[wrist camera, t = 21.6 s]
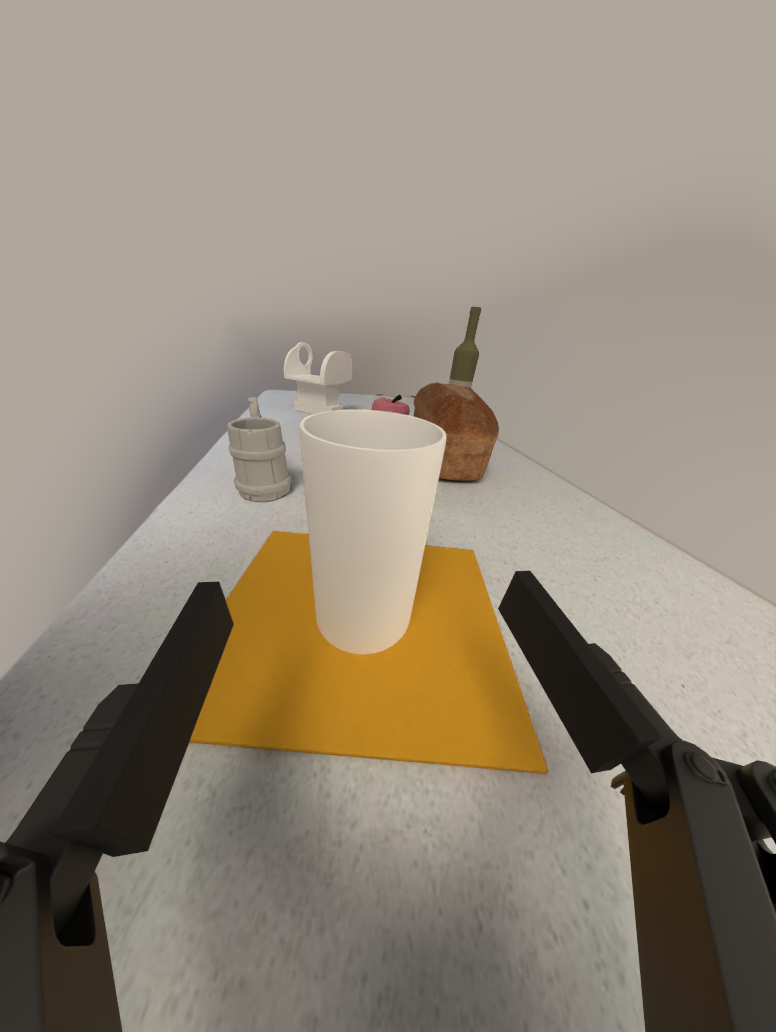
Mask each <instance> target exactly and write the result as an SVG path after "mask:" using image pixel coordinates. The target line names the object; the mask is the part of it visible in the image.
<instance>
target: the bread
mask: <svg viewBox="0 0 776 1032" xmlns="http://www.w3.org/2000/svg"><path fill="white" fill-rule="evenodd" d="M414 406H415V412H414V417H416V418H420V419H423V420H426V421H429V422H431V423H433V424H435V425H437V426H439V427H440V428H442V429H443V430H444V431H445V433H446V445H445V450H444V455H443V460H442V465H441V470H440V475H439V478H441V479H447V480H457V481H467V480H477V479H480V478H481V477H482V476H483V475H484V473H485V470H486V468H487V465H488V462H489V459H490V457H491V454H492V450H493V446H494V444H495V442H496V439H497V437H498V431H499V428H498V422H497V420H496V417H495V415H494V413H493V412H492V410H491V409H490V408H489V407H488V405H487V404H486V403H485V402H484V401H483V400H482V399H481V398H480V397H479V396H478V395H477V394H476V393H475V392H474V391H473V390H472V389H471V388H470V387H463V386H458V385H453V384H440V383H434V384H433V383H432V384H429V385H427V386H425V387H424V388H422V389H421V390H420V391H419V392H418V393H417V395H416V396H415V399H414Z"/></svg>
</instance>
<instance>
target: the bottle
mask: <svg viewBox="0 0 776 1032" xmlns="http://www.w3.org/2000/svg"><path fill="white" fill-rule="evenodd" d="M480 313H481V308H480V307H471V310H470V317H469V322H468V327H467V332H466V337H465V340H464V342H463V343H462V344H461V345H460V346H459V347H458V348H457V349H456V350H455V352H454V358H453V364H452V369H451V375H450V381H449V384H453V385H458V386H463V387H470V388H471V385H472V381H473V377H474V373H475V369H476V364H477V361H478V357H479V351H478V349H477V347H476V345H475V343H474V338H475V334H476V329H477V325H478V320H479V316H480Z"/></svg>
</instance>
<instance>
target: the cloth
mask: <svg viewBox="0 0 776 1032" xmlns="http://www.w3.org/2000/svg"><path fill="white" fill-rule="evenodd" d="M226 603H227V606H228V609H229V612H230V614H231V617H232V620H233V623H234V625H233V628H232V631H231V633H230V636H229V638H228V641H227V644H226V646H225V649H224V652H223V654H222V657H221V660H220V662H219V665H218V667H217V670H216V673H215V675H214V678H213V681H212V683H211V686H210V688H209V691H208V694H207V696H206V699H205V702H204V704H203V707H202V710H201V712H200V715H199V717H198V720H197V723H196V725H195V728H194V731H193V733H192V736H191V739H190V741H189V742H192V743H203V744H215V745H226V746H237V747H249V748H260V749H271V750H283V751H294V752H305V753H317V754H328V755H340V756H351V757H362V758H374V759H385V760H396V761H408V762H419V763H430V764H442V765H453V766H464V767H476V768H487V769H498V770H510V771H521V772H532V773H544V774H546V773H547V772H548V769H547V766H546V763H545V760H544V757H543V754H542V751H541V748H540V745H539V742H538V739H537V736H536V734H535V731H534V728H533V725H532V722H531V719H530V716H529V713H528V710H527V707H526V704H525V701H524V698H523V695H522V692H521V689H520V687H519V684H518V681H517V678H516V675H515V672H514V669H513V666H512V663H511V660H510V657H509V654H508V651H507V648H506V645H505V643H504V640H503V637H502V634H501V631H500V628H499V625H498V622H497V619H496V616H495V613H494V610H493V607H492V604H491V601H490V598H489V596H488V593H487V590H486V587H485V584H484V581H483V578H482V575H481V572H480V569H479V566H478V563H477V560H476V557H475V554H474V551H473V550H466V549H456V548H445V547H435V546H425V549H424V553H423V558H422V563H421V568H420V573H419V578H418V583H417V588H416V593H415V598H414V602H413V607H412V612H411V617H410V622H409V625H408V628H407V630H406V632H405V634H404V635H403V636H402V638H401V639H400V640H399V641H398V642H397V643H395V644H394V645H393V646H391V647H389V648H388V649H386V650H383V651H381V652H377V653H373V654H352V653H348V652H345V651H342V650H340V649H338V648H336V647H334V646H333V645H332V644H330V643H329V642H328V641H327V640H326V639H325V638H324V637H323V635H322V634H321V632H320V630H319V628H318V625H317V621H316V611H315V600H314V588H313V577H312V566H311V555H310V544H309V534H300V533H290V532H279V531H273V532H272V533H271V535H270V536H269V538H268V539H267V541H266V542H265V543H264V545H263V546H262V548H261V549H260V551H259V552H258V554H257V555H256V557H255V558H254V560H253V561H252V562H251V564H250V565H249V567H248V568H247V570H246V571H245V573H244V574H243V576H242V577H241V579H240V580H239V582H238V583H237V584H236V586H235V587H234V589H233V590H232V592H231V593H230V595H229V596H228V598H227V599H226Z"/></svg>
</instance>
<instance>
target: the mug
mask: <svg viewBox="0 0 776 1032" xmlns="http://www.w3.org/2000/svg"><path fill="white" fill-rule="evenodd" d="M248 400H249V404H250V406H249V407H250V408H249V409H250V416H251V418H245V419H237V420H233V421H231V422H229V423H228V424H227V429H228V434H229V440H230V444H229V451H230V455H231V456H233V461H234V467H235V472H236V477H235V480H234V482H235V486H236V488H237V490H239V493H240V495H241V496H242V497H243V498H244V499H247V500H251V501H257V502H264V501H272V500H276V499H277V498H278V499H279V498H281V497H282V496H284V495H286V494H287V493H289V491H290V484H291V475H290V473H289V472H288V470H287V464H286V458H285V451H286V447H285V443H284V442H283V440H282V434H281V428H280V423H279V422H277V421H275V420H272V419H267V418H261V415H260V412H259V406H258V400H257V397H251V398H250V397H249V398H248Z"/></svg>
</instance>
